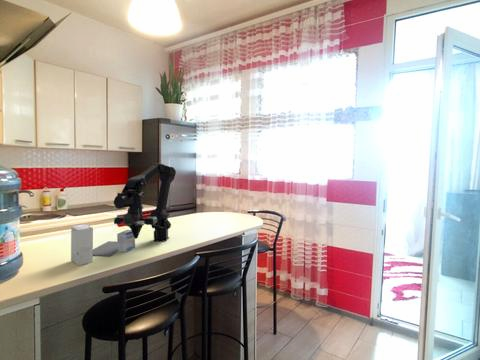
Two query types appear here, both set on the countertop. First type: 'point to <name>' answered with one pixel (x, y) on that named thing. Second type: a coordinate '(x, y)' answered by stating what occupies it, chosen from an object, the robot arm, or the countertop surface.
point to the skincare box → (81, 244)
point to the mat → (106, 249)
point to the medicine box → (125, 241)
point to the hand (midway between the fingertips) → (136, 238)
